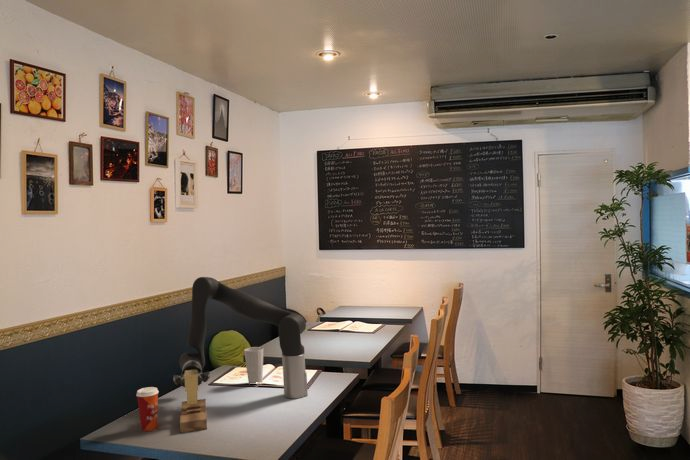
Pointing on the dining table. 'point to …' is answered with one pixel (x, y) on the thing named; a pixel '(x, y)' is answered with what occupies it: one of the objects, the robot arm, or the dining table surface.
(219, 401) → the dining table surface
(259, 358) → the cup
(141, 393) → the paper cup
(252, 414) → the dining table surface
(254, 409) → the dining table surface
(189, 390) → the tan boxy piece
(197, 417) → the brown flat wooden block
